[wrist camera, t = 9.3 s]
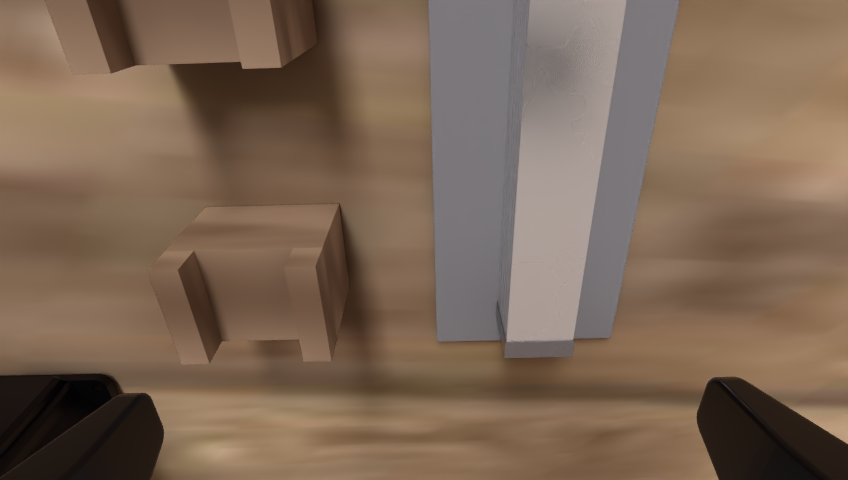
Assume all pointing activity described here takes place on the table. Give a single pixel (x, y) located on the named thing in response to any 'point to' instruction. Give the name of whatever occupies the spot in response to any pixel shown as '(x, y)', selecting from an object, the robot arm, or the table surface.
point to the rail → (553, 166)
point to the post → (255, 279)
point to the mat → (486, 153)
